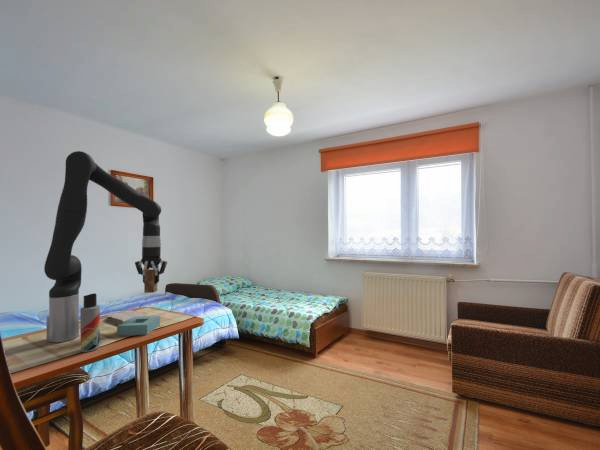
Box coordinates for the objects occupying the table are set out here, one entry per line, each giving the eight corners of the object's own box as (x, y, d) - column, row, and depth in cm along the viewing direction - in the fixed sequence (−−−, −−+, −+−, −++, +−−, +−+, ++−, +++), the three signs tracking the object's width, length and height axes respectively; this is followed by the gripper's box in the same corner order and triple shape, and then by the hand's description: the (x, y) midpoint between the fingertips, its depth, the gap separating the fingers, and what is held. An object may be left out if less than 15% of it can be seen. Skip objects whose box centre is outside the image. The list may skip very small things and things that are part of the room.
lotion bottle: (89, 352, 101) (89, 295, 101) (76, 351, 102) (76, 295, 102) (103, 346, 107) (103, 292, 107) (91, 345, 108) (90, 291, 108)
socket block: (117, 335, 117) (117, 325, 117) (132, 325, 129) (132, 317, 129) (147, 334, 118) (147, 324, 118) (160, 324, 130) (160, 316, 130)
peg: (144, 292, 129) (144, 270, 129) (148, 290, 133) (148, 269, 133) (153, 292, 129) (153, 270, 130) (157, 290, 133) (157, 269, 133)
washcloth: (129, 314, 150) (129, 308, 150) (148, 319, 140) (148, 313, 141) (103, 320, 140) (103, 314, 140) (123, 326, 130) (123, 319, 130)
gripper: (131, 246, 127) (130, 285, 127) (164, 246, 128) (163, 285, 128) (139, 245, 135) (138, 282, 134) (170, 245, 136) (170, 282, 135)
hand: (151, 283), depth 131 cm, fingers closed on peg, 4 cm apart
